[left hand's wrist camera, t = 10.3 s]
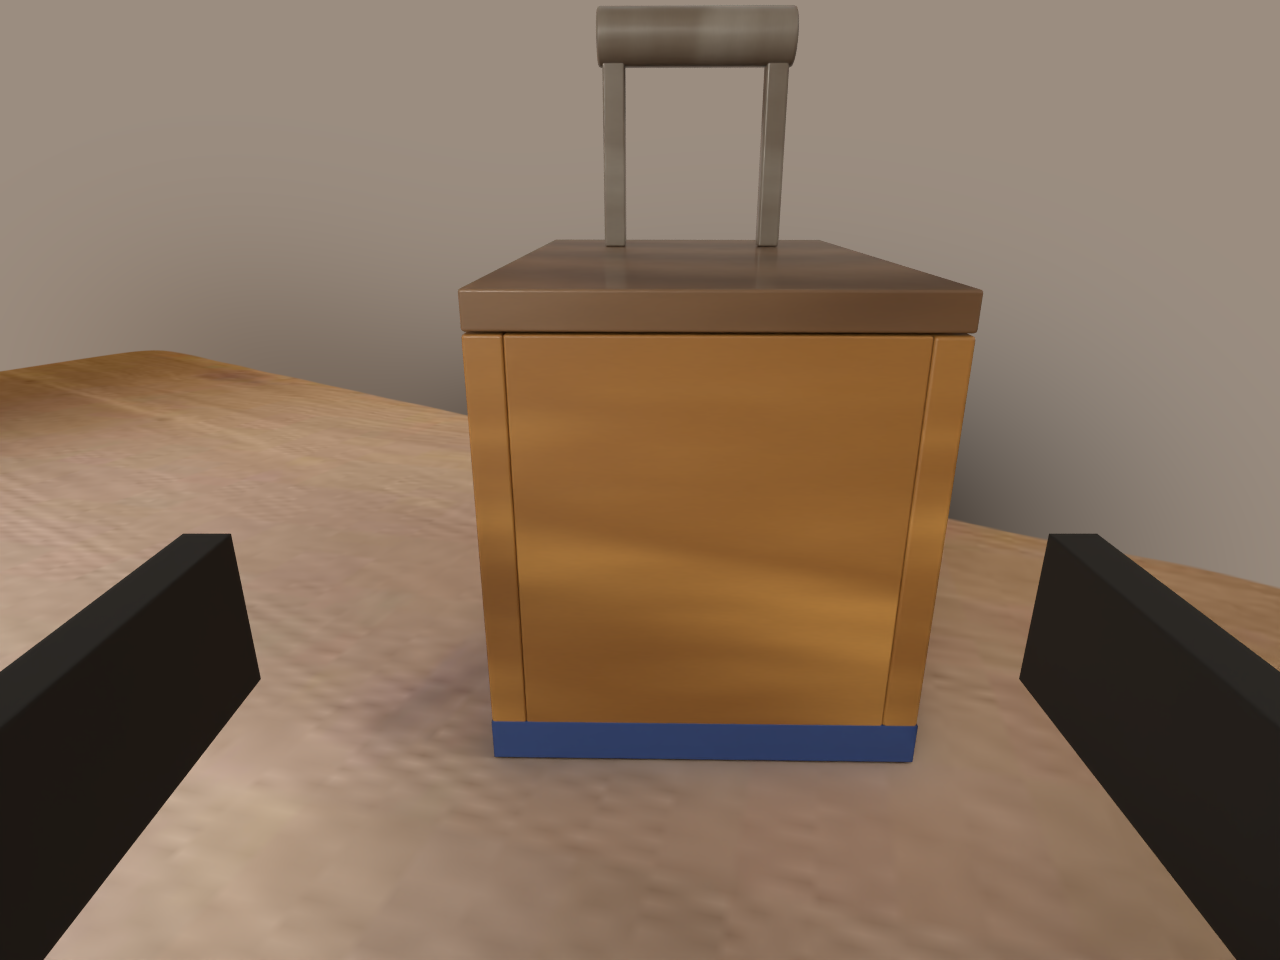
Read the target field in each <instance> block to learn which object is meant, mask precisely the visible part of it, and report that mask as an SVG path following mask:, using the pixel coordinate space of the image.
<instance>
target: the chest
mask: <svg viewBox="0 0 1280 960" xmlns="http://www.w3.org/2000/svg"><path fill="white" fill-rule="evenodd" d="M974 345H975V337H973V336H971V335H969V334H967V333H733V332H466V333H464V334H463V335H462V349H463V361H464V373H465V386H466V398H467V410H468V423H469V435H470V448H471V460H472V472H473V485H474V497H475V509H476V522H477V534H478V546H479V559H480V571H481V583H482V596H483V608H484V620H485V633H486V645H487V657H488V670H489V682H490V694H491V707H492V731H493V744H494V756H495V757H553V758H634V759H715V760H796V761H877V762H912V760H913V754H914V748H915V741H916V735H917V728H918V726H917V724H916V722H917V716H918V709H919V703H920V696H921V690H922V683H923V677H924V670H925V664H926V657H927V651H928V644H929V638H930V631H931V625H932V618H933V612H934V605H935V599H936V592H937V586H938V579H939V573H940V566H941V560H942V553H943V547H944V540H945V534H946V527H947V521H948V514H949V508H950V501H951V494H952V488H953V482H954V475H955V469H956V462H957V456H958V449H959V443H960V436H961V430H962V423H963V417H964V410H965V404H966V397H967V391H968V384H969V378H970V371H971V365H972V358H973V352H974Z"/></svg>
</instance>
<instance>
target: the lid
mask: <svg viewBox="0 0 1280 960" xmlns="http://www.w3.org/2000/svg"><path fill="white" fill-rule="evenodd" d="M798 31H799V14H798V9H797V6H795V5H724V6H722V5H721V6H599V7H598V8H597V12H596V43H597V59H598V65H599V67H601V68H603V131H604V200H605V240H554V241H552V242H550V243H548V244H547V245H545V246H543V247H541V248H539V249H537V250H535V251H533V252H531V253H529V254H527V255H525V256H523V257H521V258H519V259H517V260H515V261H513V262H511V263H509V264H507V265H505V266H503V267H501V268H499V269H497V270H495V271H494V272H492V273H490V274H488V275H486V276H484V277H482V278H480V279H478V280H476V281H474V282H472V283H470V284H468V285H466V286H464V287H462V288H460V289H459V290H458V299H459V311H460V324H461V330H462V331H464V332H733V333H976V332H977V329H978V323H979V316H980V310H981V303H982V297H983V291H982V290H980V289H977V288H973V287H970V286H967V285H964V284H960V283H957V282H954V281H951V280H947V279H944V278H941V277H938V276H934V275H931V274H928V273H925V272H921V271H918V270H915V269H911V268H908V267H905V266H902V265H898V264H895V263H892V262H889V261H885V260H882V259H879V258H875V257H872V256H869V255H866V254H863V253H859V252H856V251H853V250H850V249H846V248H843V247H840V246H837V245H833V244H830V243H827V242H823V241H820V240H778V238H779V221H780V205H781V188H782V172H783V155H784V139H785V123H786V106H787V90H788V74H789V67H791V66H792V65H793V62H794V60H795V55H796V50H797V43H798ZM725 67H726V68H727V67H728V68H731V67H732V68H733V67H734V68H735V67H737V68H738V67H765V70H764V89H763V109H762V128H761V148H760V168H759V187H758V207H757V226H756V240H626V119H625V68H725Z"/></svg>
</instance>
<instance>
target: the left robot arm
mask: <svg viewBox="0 0 1280 960" xmlns="http://www.w3.org/2000/svg"><path fill="white" fill-rule="evenodd" d="M260 679H261V678H260V673H259V668H258V663H257V658H256V653H255V649H254V644H253V639H252V634H251V629H250V624H249V619H248V615H247V610H246V605H245V600H244V595H243V590H242V585H241V581H240V576H239V571H238V566H237V561H236V556H235V552H234V547H233V542H232V537H231V534H182V535H181V536H180V537H178V538H177V539H176V540H174V541H173V542H172V543H170V544H169V545H168V546H166V547H165V548H164V549H162V550H161V551H160V552H158V553H157V554H156V555H154V556H153V557H152V558H150V559H149V560H148V561H146V562H145V563H144V564H142V565H141V566H140V567H138V568H137V569H136V570H135V571H133V572H132V573H131V574H129V575H128V576H127V577H125V578H124V579H123V580H121V581H120V582H119V583H117V584H116V585H115V586H113V587H112V588H111V589H109V590H108V591H107V592H105V593H104V594H103V595H101V596H100V597H99V598H97V599H96V600H95V601H93V602H92V603H91V604H89V605H88V606H87V607H86V608H84V609H83V610H82V611H80V612H79V613H78V614H76V615H75V616H74V617H72V618H71V619H70V620H68V621H67V622H66V623H64V624H63V625H62V626H60V627H59V628H58V629H56V630H55V631H54V632H52V633H51V634H50V635H48V636H47V637H46V638H44V639H43V640H42V641H41V642H39V643H38V644H37V645H35V646H34V647H33V648H31V649H30V650H29V651H27V652H26V653H25V654H23V655H22V656H21V657H19V658H18V659H17V660H15V661H14V662H13V663H11V664H10V665H9V666H7V667H6V668H5V669H3V670H2V671H1V672H0V960H44V958H45V957H46V956H47V955H48V953H49V952H50V951H51V949H52V948H53V947H54V945H55V944H56V943H57V942H58V940H59V939H60V938H61V936H62V935H63V934H64V933H65V931H66V930H67V929H68V927H69V926H70V925H71V924H72V922H73V921H74V920H75V918H76V917H77V916H78V914H79V913H80V912H81V911H82V909H83V908H84V907H85V905H86V904H87V903H88V902H89V900H90V899H91V898H92V896H93V895H94V894H95V892H96V891H97V890H98V889H99V887H100V886H101V885H102V883H103V882H104V881H105V880H106V878H107V877H108V876H109V874H110V873H111V872H112V871H113V869H114V868H115V867H116V865H117V864H118V863H119V861H120V860H121V859H122V858H123V856H124V855H125V854H126V852H127V851H128V850H129V849H130V847H131V846H132V845H133V843H134V842H135V841H136V840H137V838H138V837H139V836H140V834H141V833H142V832H143V830H144V829H145V828H146V827H147V825H148V824H149V823H150V821H151V820H152V819H153V818H154V816H155V815H156V814H157V812H158V811H159V810H160V808H161V807H162V806H163V805H164V803H165V802H166V801H167V799H168V798H169V797H170V796H171V794H172V793H173V792H174V790H175V789H176V788H177V787H178V785H179V784H180V783H181V781H182V780H183V779H184V777H185V776H186V775H187V774H188V772H189V771H190V770H191V768H192V767H193V766H194V765H195V763H196V762H197V761H198V759H199V758H200V757H201V755H202V754H203V753H204V752H205V750H206V749H207V748H208V746H209V745H210V744H211V743H212V741H213V740H214V739H215V737H216V736H217V735H218V734H219V732H220V731H221V730H222V728H223V727H224V726H225V724H226V723H227V722H228V721H229V719H230V718H231V717H232V715H233V714H234V713H235V712H236V710H237V709H238V708H239V706H240V705H241V704H242V703H243V701H244V700H245V699H246V697H247V696H248V695H249V693H250V692H251V691H252V690H253V688H254V687H255V686H256V684H257V683H258V682H259V681H260ZM1019 679H1020V681H1021V682H1022V683H1023V684H1024V686H1025V687H1026V688H1027V690H1028V691H1029V692H1030V693H1031V695H1032V696H1033V697H1034V699H1035V700H1036V701H1037V703H1038V704H1039V705H1040V706H1041V708H1042V709H1043V710H1044V712H1045V713H1046V714H1047V715H1048V717H1049V718H1050V719H1051V721H1052V722H1053V723H1054V724H1055V726H1056V727H1057V728H1058V730H1059V731H1060V732H1061V734H1062V735H1063V736H1064V737H1065V739H1066V740H1067V741H1068V743H1069V744H1070V745H1071V746H1072V748H1073V749H1074V750H1075V752H1076V753H1077V754H1078V755H1079V757H1080V758H1081V759H1082V761H1083V762H1084V763H1085V765H1086V766H1087V767H1088V768H1089V770H1090V771H1091V772H1092V774H1093V775H1094V776H1095V777H1096V779H1097V780H1098V781H1099V783H1100V784H1101V785H1102V787H1103V788H1104V789H1105V790H1106V792H1107V793H1108V794H1109V796H1110V797H1111V798H1112V799H1113V801H1114V802H1115V803H1116V805H1117V806H1118V807H1119V808H1120V810H1121V811H1122V812H1123V814H1124V815H1125V816H1126V818H1127V819H1128V820H1129V821H1130V823H1131V824H1132V825H1133V827H1134V828H1135V829H1136V830H1137V832H1138V833H1139V834H1140V836H1141V837H1142V838H1143V840H1144V841H1145V842H1146V843H1147V845H1148V846H1149V847H1150V849H1151V850H1152V851H1153V852H1154V854H1155V855H1156V856H1157V858H1158V859H1159V860H1160V861H1161V863H1162V864H1163V865H1164V867H1165V868H1166V869H1167V871H1168V872H1169V873H1170V874H1171V876H1172V877H1173V878H1174V880H1175V881H1176V882H1177V883H1178V885H1179V886H1180V887H1181V889H1182V890H1183V891H1184V892H1185V894H1186V895H1187V896H1188V898H1189V899H1190V900H1191V902H1192V903H1193V904H1194V905H1195V907H1196V908H1197V909H1198V911H1199V912H1200V913H1201V914H1202V916H1203V917H1204V918H1205V920H1206V921H1207V922H1208V924H1209V925H1210V926H1211V927H1212V929H1213V930H1214V931H1215V933H1216V934H1217V935H1218V936H1219V938H1220V939H1221V940H1222V942H1223V943H1224V944H1225V945H1226V947H1227V948H1228V949H1229V951H1230V952H1231V953H1232V955H1233V956H1234V957H1235V958H1236V960H1280V672H1279V671H1278V670H1277V669H1275V668H1274V667H1273V666H1271V665H1270V664H1269V663H1267V662H1266V661H1265V660H1263V659H1262V658H1261V657H1259V656H1258V655H1257V654H1255V653H1254V652H1253V651H1251V650H1250V649H1249V648H1247V647H1246V646H1245V645H1243V644H1242V643H1241V642H1239V641H1238V640H1237V639H1236V638H1234V637H1233V636H1232V635H1230V634H1229V633H1228V632H1226V631H1225V630H1224V629H1222V628H1221V627H1220V626H1218V625H1217V624H1216V623H1214V622H1213V621H1212V620H1210V619H1209V618H1208V617H1206V616H1205V615H1204V614H1202V613H1201V612H1200V611H1198V610H1197V609H1196V608H1194V607H1193V606H1192V605H1191V604H1189V603H1188V602H1187V601H1185V600H1184V599H1183V598H1181V597H1180V596H1179V595H1177V594H1176V593H1175V592H1173V591H1172V590H1171V589H1169V588H1168V587H1167V586H1165V585H1164V584H1163V583H1161V582H1160V581H1159V580H1157V579H1156V578H1155V577H1153V576H1152V575H1151V574H1149V573H1148V572H1147V571H1145V570H1144V569H1143V568H1142V567H1140V566H1139V565H1138V564H1136V563H1135V562H1134V561H1132V560H1131V559H1130V558H1128V557H1127V556H1126V555H1124V554H1123V553H1122V552H1120V551H1119V550H1118V549H1116V548H1115V547H1114V546H1112V545H1111V544H1110V543H1108V542H1107V541H1106V540H1104V539H1103V538H1102V537H1100V536H1099V535H1098V534H1049V537H1048V542H1047V547H1046V551H1045V556H1044V561H1043V566H1042V571H1041V576H1040V581H1039V585H1038V590H1037V595H1036V600H1035V605H1034V610H1033V615H1032V619H1031V624H1030V629H1029V634H1028V639H1027V644H1026V649H1025V653H1024V658H1023V663H1022V668H1021V673H1020V678H1019Z"/></svg>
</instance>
